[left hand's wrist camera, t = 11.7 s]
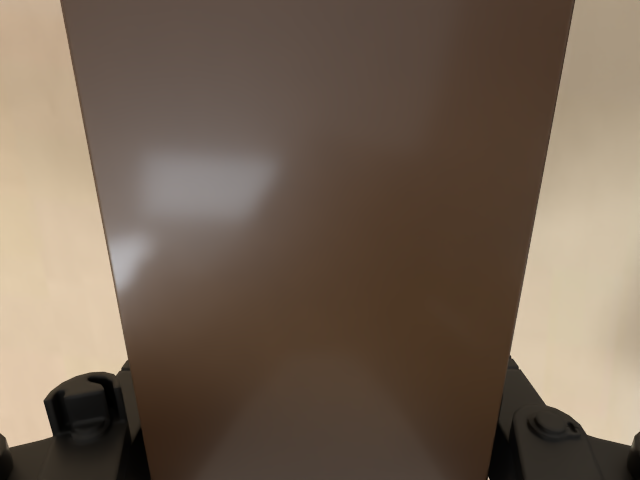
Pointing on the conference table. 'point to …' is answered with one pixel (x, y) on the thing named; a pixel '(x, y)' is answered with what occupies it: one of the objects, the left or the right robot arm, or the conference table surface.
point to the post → (318, 223)
